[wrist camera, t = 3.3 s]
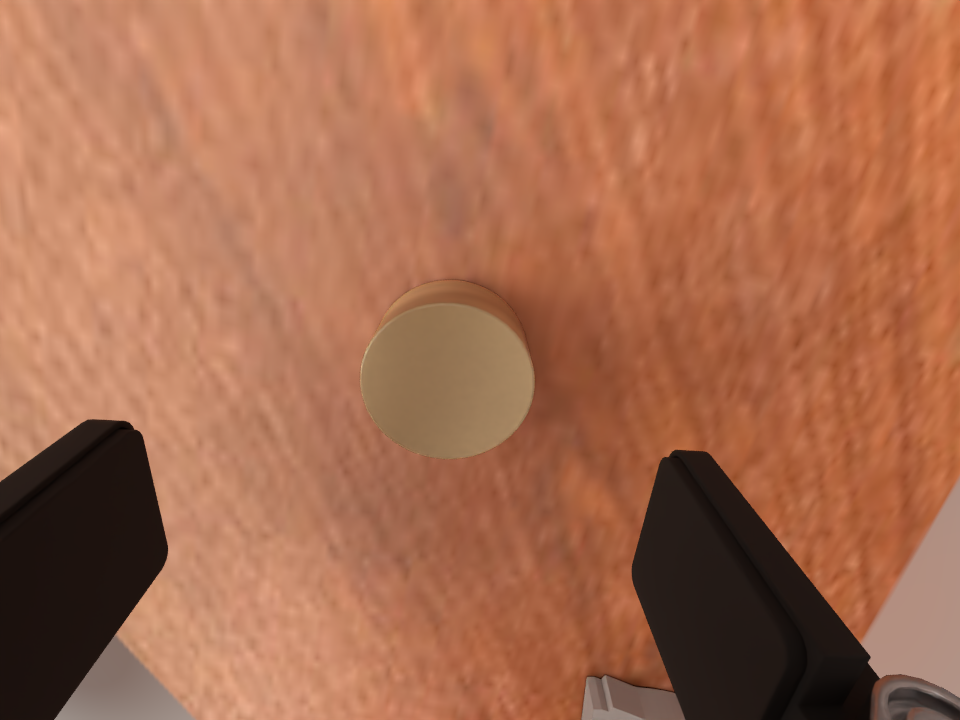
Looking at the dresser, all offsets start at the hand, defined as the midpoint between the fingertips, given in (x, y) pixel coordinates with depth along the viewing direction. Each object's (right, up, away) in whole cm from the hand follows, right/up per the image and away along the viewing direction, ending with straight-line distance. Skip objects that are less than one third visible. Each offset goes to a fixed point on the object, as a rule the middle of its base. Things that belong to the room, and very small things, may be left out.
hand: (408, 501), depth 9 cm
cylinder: (0, +3, +7) cm, 7 cm away
